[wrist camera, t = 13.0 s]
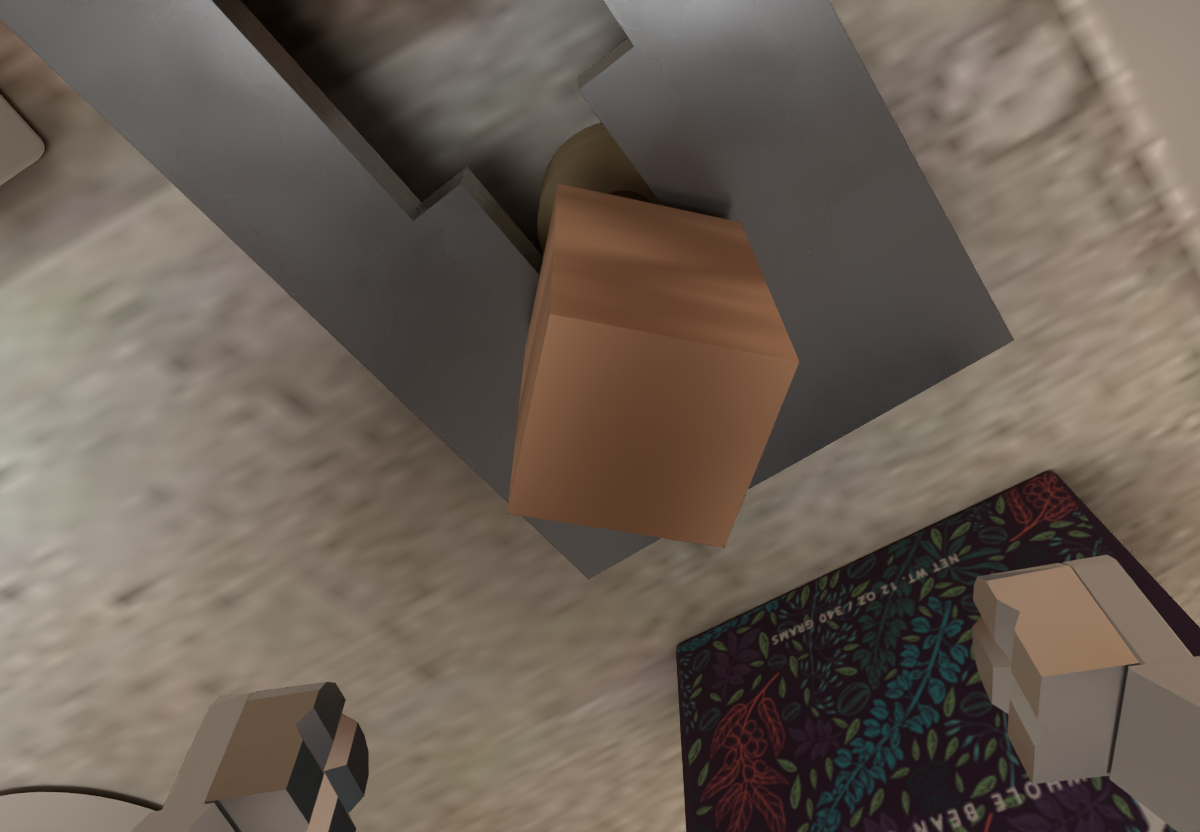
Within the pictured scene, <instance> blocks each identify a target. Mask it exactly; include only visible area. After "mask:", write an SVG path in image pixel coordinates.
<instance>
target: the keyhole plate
mask: <svg viewBox="0 0 1200 832" xmlns="http://www.w3.org/2000/svg"><path fill="white" fill-rule="evenodd" d="M603 1H604V3H605V4H606V5H607V7H608V8H609V10H610V11H611V13H612V14H613V16H614V17H615V19H616V20H617V22H618V23H619V25H620V26H621V28H622V29H623V30H624V32H625V33H626V35H627V36H628V38H627V39H626V40H625V41H623V42H622V43H621V44H619V45H618V46H617V47H616V48H614V49H613V50H612V51H611V52H609V53H608V54H607V55H606V56H604V57H603V58H602V59H601V60H599V61H598V62H597V63H596V64H594V65H593V66H592V67H591V68H589V69H588V70H587V71H586V72H584V73H583V74H582V75H581V76H579V79H578V91H579V92H580V93H581V95H582V96H583V97H584V99H585V100H586V102H587V103H588V104H589V106H590V107H591V108H592V110H593V111H594V112H595V114H596V115H597V117H598V118H599V119H600V121H601V122H602V123H603V125H604V126H605V127H606V129H607V130H608V132H609V133H610V134H611V136H612V137H613V138H614V140H615V141H616V142H617V144H618V145H619V147H620V148H621V149H622V151H623V152H624V153H625V155H626V156H627V157H628V159H629V160H630V161H631V163H632V164H633V166H634V167H635V168H636V170H637V171H638V172H639V174H640V175H641V176H642V178H643V179H644V181H645V182H646V183H647V185H648V186H649V187H650V189H651V190H652V191H653V193H654V194H655V196H656V197H657V198H658V200H659V201H660V202H661V204H662V205H663V206H666V207H671V208H676V209H680V210H685V211H690V212H694V213H699V214H704V215H708V216H713V217H718V218H723V219H727V220H732V221H737V222H741V224H742V227H743V229H744V231H745V234H746V236H747V239H748V241H749V243H750V246H751V248H752V250H753V253H754V255H755V258H756V260H757V262H758V265H759V267H760V269H761V272H762V274H763V277H764V279H765V281H766V284H767V286H768V288H769V291H770V293H771V296H772V298H773V300H774V303H775V305H776V307H777V310H778V312H779V315H780V317H781V319H782V322H783V324H784V326H785V329H786V331H787V334H788V336H789V338H790V341H791V343H792V345H793V348H794V350H795V352H796V355H797V357H798V360H799V364H798V366H797V369H796V371H795V374H794V376H793V379H792V381H791V384H790V386H789V389H788V391H787V394H786V396H785V399H784V401H783V404H782V406H781V409H780V411H779V413H778V416H777V418H776V421H775V423H774V426H773V428H772V431H771V433H770V436H769V438H768V441H767V443H766V446H765V448H764V451H763V453H762V456H761V458H760V460H759V463H758V465H757V468H756V470H755V473H754V475H753V478H752V480H751V483H750V485H749V488H748V489H750V488H752V487H753V486H755V485H757V484H759V483H760V482H762V481H764V480H766V479H768V478H769V477H771V476H773V475H775V474H777V473H778V472H780V471H782V470H784V469H785V468H787V467H789V466H791V465H793V464H794V463H796V462H798V461H800V460H801V459H803V458H805V457H807V456H809V455H810V454H812V453H814V452H816V451H817V450H819V449H821V448H823V447H825V446H826V445H828V444H830V443H832V442H833V441H835V440H837V439H839V438H841V437H842V436H844V435H846V434H848V433H850V432H851V431H853V430H855V429H857V428H858V427H860V426H862V425H864V424H866V423H867V422H869V421H871V420H873V419H874V418H876V417H878V416H880V415H882V414H883V413H885V412H887V411H889V410H890V409H892V408H894V407H896V406H898V405H899V404H901V403H903V402H905V401H906V400H908V399H910V398H912V397H914V396H915V395H917V394H919V393H921V392H922V391H924V390H926V389H928V388H930V387H931V386H933V385H935V384H937V383H939V382H940V381H942V380H944V379H946V378H947V377H949V376H951V375H953V374H955V373H956V372H958V371H960V370H962V369H963V368H965V367H967V366H969V365H971V364H972V363H974V362H976V361H978V360H979V359H981V358H983V357H985V356H987V355H988V354H990V353H992V352H994V351H995V350H997V349H999V348H1001V347H1003V346H1004V345H1006V344H1008V343H1010V342H1011V341H1013V340H1014V339H1013V337H1012V335H1011V334H1010V332H1009V330H1008V328H1007V326H1006V324H1005V323H1004V321H1003V319H1002V317H1001V315H1000V313H999V312H998V310H997V308H996V306H995V304H994V302H993V301H992V299H991V297H990V295H989V293H988V291H987V290H986V288H985V286H984V284H983V282H982V280H981V279H980V277H979V275H978V273H977V271H976V269H975V268H974V266H973V264H972V262H971V260H970V258H969V257H968V255H967V253H966V251H965V249H964V247H963V246H962V244H961V242H960V240H959V238H958V236H957V235H956V233H955V231H954V229H953V227H952V225H951V224H950V222H949V220H948V218H947V216H946V214H945V213H944V211H943V209H942V207H941V205H940V203H939V202H938V200H937V198H936V196H935V194H934V192H933V191H932V189H931V187H930V185H929V183H928V181H927V180H926V178H925V176H924V174H923V172H922V170H921V169H920V167H919V165H918V163H917V161H916V159H915V158H914V156H913V154H912V152H911V150H910V148H909V147H908V145H907V143H906V141H905V139H904V137H903V136H902V134H901V132H900V130H899V128H898V126H897V125H896V123H895V121H894V119H893V117H892V115H891V114H890V112H889V110H888V108H887V106H886V104H885V103H884V101H883V99H882V97H881V95H880V93H879V92H878V90H877V88H876V86H875V84H874V82H873V81H872V79H871V77H870V75H869V73H868V72H867V70H866V68H865V66H864V64H863V62H862V61H861V59H860V57H859V55H858V53H857V51H856V50H855V48H854V46H853V44H852V42H851V40H850V39H849V37H848V35H847V33H846V31H845V29H844V28H843V26H842V24H841V22H840V20H839V18H838V17H837V15H836V13H835V11H834V9H833V7H832V6H831V4H830V2H829V0H603ZM0 20H2V21H3V22H4V23H5V24H6V25H7V26H8V27H9V28H10V29H11V30H12V31H13V32H14V33H15V34H16V35H17V36H18V37H19V38H20V39H21V40H23V41H24V42H25V43H26V44H27V45H28V46H29V47H30V48H31V49H32V50H33V51H34V52H35V53H36V54H37V55H38V56H39V57H40V58H41V59H42V60H44V61H45V62H46V63H47V64H48V65H49V66H50V67H51V68H52V69H53V70H54V71H55V72H56V73H57V74H58V75H59V76H60V77H61V78H62V79H63V80H65V81H66V82H67V83H68V84H69V85H70V86H71V87H72V88H73V89H74V90H75V91H76V92H77V93H78V94H79V95H80V96H81V97H82V98H83V99H85V100H86V101H87V102H88V103H89V104H90V105H91V106H92V107H93V108H94V109H95V110H96V111H97V112H98V113H99V114H100V115H101V116H102V117H103V118H104V119H106V120H107V121H108V122H109V123H110V124H111V125H112V126H113V127H114V128H115V129H116V130H117V131H118V132H119V133H120V134H121V135H122V136H123V137H124V138H125V139H127V140H128V141H129V142H130V143H131V144H132V145H133V146H134V147H135V148H136V149H137V150H138V151H139V152H140V153H141V154H142V155H143V156H144V157H145V158H146V159H148V160H149V161H150V162H151V163H152V164H153V165H154V166H155V167H156V168H157V169H158V170H159V171H160V172H161V173H162V174H163V175H164V176H165V177H166V178H167V179H169V180H170V181H171V182H172V183H173V184H174V185H175V186H176V187H177V188H178V189H179V190H180V191H181V192H182V193H183V194H184V195H185V196H186V197H187V198H189V199H190V200H191V201H192V202H193V203H194V204H195V205H196V206H197V207H198V208H199V209H200V210H201V211H202V212H203V213H204V214H205V215H206V216H207V217H208V218H210V219H211V220H212V221H213V222H214V223H215V224H216V225H217V226H218V227H219V228H220V229H221V230H222V231H223V232H224V233H225V234H226V235H227V236H228V237H229V238H231V239H232V240H233V241H234V242H235V243H236V244H237V245H238V246H239V247H240V248H241V249H242V250H243V251H244V252H245V253H246V254H247V255H248V256H249V257H250V258H252V259H253V260H254V261H255V262H256V263H257V264H258V265H259V266H260V267H261V268H262V269H263V270H264V271H265V272H266V273H267V274H268V275H269V276H270V277H272V278H273V279H274V280H275V281H276V282H277V283H278V284H279V285H280V286H281V287H282V288H283V289H284V290H285V291H286V292H287V293H288V294H289V295H290V296H291V297H293V298H294V299H295V300H296V301H297V302H298V303H299V304H300V305H301V306H302V307H303V308H304V309H305V310H306V311H307V312H308V313H309V314H310V315H311V316H312V317H314V318H315V319H316V320H317V321H318V322H319V323H320V324H321V325H322V326H323V327H324V328H325V329H326V330H327V331H328V332H329V333H330V334H331V335H332V336H333V337H335V338H336V339H337V340H338V341H339V342H340V343H341V344H342V345H343V346H344V347H345V348H346V349H347V350H348V351H349V352H350V353H351V354H352V355H353V356H355V357H356V358H357V359H358V360H359V361H360V362H361V363H362V364H363V365H364V366H365V367H366V368H367V369H368V370H369V371H370V372H371V373H372V374H373V375H374V376H376V377H377V378H378V379H379V380H380V381H381V382H382V383H383V384H384V385H385V386H386V387H387V388H388V389H389V390H390V391H391V392H392V393H393V394H394V395H395V396H397V397H398V398H399V399H400V400H401V401H402V402H403V403H404V404H405V405H406V406H407V407H408V408H409V409H410V410H411V411H412V412H413V413H414V414H415V415H416V416H418V417H419V418H420V419H421V420H422V421H423V422H424V423H425V424H426V425H427V426H428V427H429V428H430V429H431V430H432V431H433V432H434V433H435V434H436V435H438V436H439V437H440V438H441V439H442V440H443V441H444V442H445V443H446V444H447V445H448V446H449V447H450V448H451V449H452V450H453V451H454V452H455V453H456V454H457V455H459V456H460V457H461V458H462V459H463V460H464V461H465V462H466V463H467V464H468V465H469V466H470V467H471V468H472V469H473V470H474V471H475V472H476V473H477V474H478V475H480V476H481V477H482V478H483V479H484V480H485V481H486V482H487V483H488V484H489V485H490V486H491V487H492V488H493V489H494V490H495V491H496V492H497V493H498V494H499V495H501V496H502V497H503V498H504V499H505V500H506V501H507V502H508V501H509V492H510V483H511V474H512V465H513V455H514V446H515V437H516V428H517V419H518V410H519V400H520V391H521V382H522V373H523V364H524V355H525V346H526V341H527V337H528V332H529V327H530V322H531V317H532V312H533V307H534V302H535V297H536V292H537V287H538V282H539V277H540V272H541V267H542V262H543V256H542V255H541V254H540V252H539V251H538V250H537V249H536V248H535V246H534V245H533V244H532V243H531V242H530V240H529V239H528V238H527V237H526V236H525V235H524V233H523V232H522V231H521V230H520V229H519V227H518V226H517V225H516V224H515V223H514V222H513V220H512V219H511V218H510V217H509V216H508V214H507V213H506V212H505V211H504V210H503V209H502V207H501V206H500V205H499V204H498V203H497V201H496V200H495V199H494V198H493V197H492V195H491V194H490V193H489V192H488V191H487V190H486V188H485V187H484V186H483V185H482V184H481V182H480V181H479V180H478V179H477V178H476V177H475V175H474V174H473V173H472V172H471V171H470V169H469V168H468V167H465V168H464V169H463V170H462V171H460V172H459V173H458V174H457V175H455V176H454V177H453V178H452V179H450V180H449V181H448V182H447V183H445V184H444V185H443V186H441V187H440V188H439V189H438V190H436V191H435V192H434V193H433V194H431V195H430V196H429V197H428V198H426V199H425V200H424V201H423V202H421V201H420V200H419V199H418V198H417V197H416V196H415V195H414V193H413V192H412V191H411V190H410V189H409V188H408V187H407V186H406V184H405V183H404V182H403V181H402V180H401V179H400V178H399V177H398V176H397V174H396V173H395V172H394V171H393V170H392V169H391V168H390V167H389V166H388V164H387V163H386V162H385V161H384V160H383V159H382V158H381V157H380V155H379V154H378V153H377V152H376V151H375V150H374V149H373V148H372V147H371V145H370V144H369V143H368V142H367V141H366V140H365V139H364V138H363V136H362V135H361V134H360V133H359V132H358V131H357V130H356V129H355V128H354V126H353V125H352V124H351V123H350V122H349V121H348V120H347V119H346V118H345V116H344V115H343V114H342V113H341V112H340V111H339V110H338V109H337V107H336V106H335V105H334V104H333V103H332V102H331V101H330V100H329V99H328V97H327V96H326V95H325V94H324V93H323V92H322V91H321V90H320V88H319V87H318V86H317V85H316V84H315V83H314V82H313V81H312V80H311V78H310V77H309V76H308V75H307V74H306V73H305V72H304V71H303V70H302V68H301V67H300V66H299V65H298V64H297V63H296V62H295V61H294V59H293V58H292V57H291V56H290V55H289V54H288V53H287V52H286V51H285V49H284V48H283V47H282V46H281V45H280V44H279V43H278V42H277V40H276V39H275V38H274V37H273V36H272V35H271V34H270V33H269V32H268V30H267V29H266V28H265V27H264V26H263V25H262V24H261V23H260V22H259V20H258V19H257V18H256V17H255V16H254V15H253V14H252V13H251V11H250V10H249V9H248V8H247V7H246V6H245V5H244V4H243V3H242V1H241V0H0ZM523 517H524V518H525V519H526V520H527V521H528V522H529V523H530V524H531V525H532V526H533V527H534V528H535V529H536V530H537V531H538V532H539V533H540V534H542V535H543V536H544V537H545V538H546V539H547V540H548V541H549V542H550V543H551V544H552V545H553V546H554V547H555V548H556V549H557V550H558V551H559V552H560V553H561V554H563V555H564V556H565V557H566V558H567V559H568V560H569V561H570V562H571V563H572V564H573V565H574V566H575V567H576V568H577V569H578V570H579V571H580V572H581V573H582V574H584V575H585V576H586V577H587V578H588V579H590V578H591V577H593V576H595V575H597V574H598V573H600V572H602V571H604V570H606V569H607V568H609V567H611V566H613V565H615V564H616V563H618V562H620V561H622V560H623V559H625V558H627V557H629V556H631V555H632V554H634V553H636V552H638V551H639V550H641V549H643V548H645V547H647V546H648V545H650V544H652V543H654V542H655V541H657V540H659V539H661V538H659V537H653V536H647V535H640V534H634V533H628V532H621V531H615V530H609V529H603V528H596V527H590V526H584V525H577V524H571V523H565V522H558V521H552V520H546V519H540V518H533V517H527V516H523Z"/></svg>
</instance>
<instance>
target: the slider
mask: <svg viewBox="0 0 1200 832" xmlns="http://www.w3.org/2000/svg"><path fill="white" fill-rule="evenodd" d="M537 232H538V239H539V244H540V247H541V251H542V253H543V256H544V257H543V262H542V267H541V272H540V277H539V282H538V287H537V292H536V297H535V302H534V307H533V312H532V317H531V322H530V327H529V332H528V337H527V341H526V346H525V355H524V364H523V373H522V382H521V391H520V400H519V410H518V419H517V428H516V437H515V446H514V455H513V465H512V474H511V483H510V492H509V501H508V510H507V513H508V514H514V515H521V516H527V517H533V518H540V519H546V520H552V521H558V522H565V523H571V524H577V525H584V526H590V527H596V528H603V529H609V530H615V531H621V532H628V533H634V534H640V535H647V536H653V537H659V538H666V539H672V540H678V541H684V542H691V543H697V544H703V545H710V546H716V547H722V548H724V547H725V545H726V542H727V540H728V537H729V535H730V532H731V530H732V527H733V525H734V522H735V520H736V517H737V515H738V512H739V510H740V508H741V505H742V503H743V500H744V498H745V495H746V493H747V490H748V488H749V485H750V483H751V480H752V478H753V475H754V473H755V470H756V468H757V465H758V463H759V460H760V458H761V456H762V453H763V451H764V448H765V446H766V443H767V441H768V438H769V436H770V433H771V431H772V428H773V426H774V423H775V421H776V418H777V416H778V413H779V411H780V409H781V406H782V404H783V401H784V399H785V396H786V394H787V391H788V389H789V386H790V384H791V381H792V379H793V376H794V374H795V371H796V369H797V366H798V364H799V360H798V357H797V355H796V352H795V350H794V348H793V345H792V343H791V341H790V338H789V336H788V334H787V331H786V329H785V326H784V324H783V322H782V319H781V317H780V315H779V312H778V310H777V307H776V305H775V303H774V300H773V298H772V296H771V293H770V291H769V288H768V286H767V284H766V281H765V279H764V277H763V274H762V272H761V269H760V267H759V265H758V262H757V260H756V258H755V255H754V253H753V250H752V248H751V246H750V243H749V241H748V239H747V236H746V234H745V231H744V229H743V227H742V224H741V222H737V221H732V220H727V219H723V218H718V217H713V216H708V215H704V214H699V213H694V212H690V211H685V210H680V209H676V208H671V207H666V206H663V205H662V204H661V202H660V201H659V200H658V198H657V197H656V196H655V194H654V193H653V191H652V190H651V189H650V187H649V186H648V185H647V183H646V182H645V181H644V179H643V178H642V176H641V175H640V174H639V172H638V171H637V170H636V168H635V167H634V166H633V164H632V163H631V161H630V160H629V159H628V157H627V156H626V155H625V153H624V152H623V151H622V149H621V148H620V147H619V145H618V144H617V142H616V141H615V140H614V138H613V137H612V136H611V134H610V133H609V132H608V130H607V129H606V127H605V126H604V125H603V123H600V124H596V125H593V126H591V127H588V128H586V129H584V130H582V131H580V132H578V133H577V134H575V135H574V136H573V137H571V138H570V139H569V140H567V141H566V142H565V143H564V144H563V145H562V146H561V147H560V148H559V150H558V151H557V152H556V153H555V155H554V156H553V158H552V159H551V161H550V163H549V165H548V167H547V169H546V171H545V174H544V177H543V181H542V185H541V193H540V202H539V210H538V219H537Z"/></svg>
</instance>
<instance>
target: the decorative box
mask: <svg viewBox="0 0 1200 832" xmlns="http://www.w3.org/2000/svg"><path fill="white" fill-rule="evenodd" d="M1102 555H1108V556H1110V557H1112V558H1114V559H1116V560H1117V562H1118V563H1119V564H1120V565H1121V567H1122V568H1123V569H1124V570H1125V572H1126V573H1127V574H1128V575H1129V577H1130V578H1131V579H1132V580H1133V582H1134V583H1135V584H1136V585H1137V587H1138V588H1139V589H1140V590H1141V592H1142V593H1143V594H1144V595H1145V597H1146V598H1147V599H1148V600H1149V602H1150V603H1151V604H1152V605H1153V607H1154V608H1155V609H1156V610H1157V612H1158V613H1159V614H1160V615H1161V617H1162V618H1163V619H1164V620H1165V622H1166V623H1167V624H1168V625H1169V627H1170V628H1171V629H1172V630H1173V632H1174V633H1175V634H1176V635H1177V637H1178V638H1179V639H1180V640H1181V642H1182V643H1183V644H1184V645H1185V647H1186V648H1187V649H1188V650H1189V652H1190V653H1191V654H1192V655H1193V657H1196V656H1200V628H1199V626H1198V625H1197V624H1196V623H1195V622H1194V621H1193V620H1192V619H1191V618H1190V617H1189V616H1188V615H1187V614H1186V613H1185V611H1184V610H1183V609H1182V608H1181V607H1180V606H1179V605H1178V604H1177V603H1176V602H1175V601H1174V600H1173V599H1172V598H1171V596H1170V595H1169V594H1168V593H1167V592H1166V591H1165V590H1164V589H1163V588H1162V587H1161V586H1160V585H1159V584H1158V583H1157V581H1156V580H1155V579H1154V578H1153V577H1152V576H1151V575H1150V574H1149V573H1148V572H1147V571H1146V570H1145V569H1144V568H1143V566H1142V565H1141V564H1140V563H1139V562H1138V561H1137V560H1136V559H1135V558H1134V557H1133V556H1132V555H1131V554H1130V553H1129V551H1128V550H1127V549H1126V548H1125V547H1124V546H1123V545H1122V544H1121V543H1120V542H1119V541H1118V540H1117V539H1116V538H1115V536H1114V535H1113V534H1112V533H1111V532H1110V531H1109V530H1108V529H1107V528H1106V527H1105V526H1104V525H1103V524H1102V523H1101V521H1100V520H1099V519H1098V518H1097V517H1096V516H1095V515H1094V514H1093V513H1092V512H1091V511H1090V510H1089V509H1088V508H1087V506H1086V505H1085V504H1084V503H1083V502H1082V501H1081V500H1080V499H1079V498H1078V497H1077V496H1076V495H1075V494H1074V493H1073V491H1072V490H1071V489H1070V488H1069V487H1068V486H1067V485H1066V484H1065V483H1064V482H1063V481H1062V480H1061V479H1060V478H1059V476H1058V475H1056V474H1054V473H1053V472H1047V473H1044V474H1041V475H1039V476H1037V477H1035V478H1033V479H1031V480H1029V481H1027V482H1024V483H1022V484H1020V485H1018V486H1016V487H1014V488H1012V489H1010V490H1007V491H1005V492H1003V493H1001V494H999V495H997V496H995V497H992V498H990V499H988V500H986V501H984V502H982V503H980V504H978V505H975V506H973V507H971V508H969V509H967V510H965V511H963V512H961V513H958V514H956V515H954V516H952V517H950V518H948V519H946V520H943V521H941V522H939V523H937V524H935V525H933V526H931V527H929V528H926V529H924V530H922V531H920V532H918V533H916V534H914V535H912V536H909V537H907V538H905V539H903V540H901V541H899V542H897V543H895V544H892V545H890V546H888V547H886V548H884V549H882V550H880V551H877V552H875V553H873V554H871V555H869V556H867V557H865V558H863V559H860V560H858V561H856V562H854V563H852V564H850V565H848V566H846V567H843V568H841V569H839V570H837V571H835V572H833V573H831V574H828V575H826V576H824V577H822V578H820V579H818V580H816V581H814V582H811V583H809V584H807V585H805V586H803V587H801V588H799V589H797V590H794V591H792V592H790V593H788V594H786V595H784V596H782V597H779V598H777V599H775V600H773V601H771V602H769V603H767V604H765V605H762V606H760V607H758V608H756V609H754V610H752V611H750V612H748V613H745V614H743V615H741V616H739V617H737V618H735V619H733V620H730V621H728V622H726V623H724V624H722V625H720V626H718V627H716V628H713V629H711V630H709V631H707V632H705V633H703V634H701V635H699V636H696V637H694V638H692V639H690V640H688V641H686V642H684V643H681V644H680V645H679V646H678V647H677V651H676V659H677V677H678V694H679V711H680V729H681V746H682V763H683V780H684V798H685V815H686V832H1177V831H1176V830H1175V829H1173V828H1172V827H1171V826H1169V825H1168V824H1167V823H1165V822H1164V821H1163V820H1162V819H1160V818H1159V817H1158V816H1156V815H1155V814H1154V813H1153V812H1151V811H1150V810H1149V809H1147V808H1146V807H1145V806H1143V805H1142V804H1141V803H1140V802H1138V801H1137V800H1136V799H1134V798H1133V797H1132V796H1130V795H1129V794H1128V793H1127V792H1125V791H1124V790H1123V789H1121V788H1120V787H1119V786H1118V785H1116V784H1115V783H1114V782H1112V781H1111V780H1110V776H1102V777H1092V778H1083V779H1074V780H1065V781H1056V782H1047V783H1038V784H1032V782H1031V780H1030V778H1029V776H1028V775H1027V773H1026V771H1025V769H1024V767H1023V765H1022V763H1021V761H1020V759H1019V757H1018V755H1017V753H1016V751H1015V749H1014V747H1013V745H1012V743H1011V741H1010V739H1009V737H1008V714H1007V713H1006V712H1004V711H1003V710H1001V709H999V708H998V707H996V706H995V705H993V704H992V703H991V701H990V699H989V697H988V694H987V692H986V690H985V688H984V686H983V683H982V681H981V678H980V675H979V672H978V670H977V665H976V660H975V655H974V650H973V628H972V627H973V626H974V624H975V623H976V622H977V621H978V620H979V619H980V618H981V614H980V612H979V610H978V609H977V607H976V605H975V603H974V601H973V594H974V584H975V581H976V579H977V577H979V576H984V575H990V574H996V573H1002V572H1008V571H1014V570H1020V569H1025V568H1031V567H1037V566H1043V565H1049V564H1055V563H1061V564H1062V563H1063V562H1067V561H1073V560H1079V559H1085V558H1090V557H1096V556H1102Z"/></svg>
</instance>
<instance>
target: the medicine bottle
mask: <svg viewBox="0 0 1200 832" xmlns="http://www.w3.org/2000/svg"><path fill="white" fill-rule="evenodd" d="M44 151H45V149H44V143H43V142H42V140H41V138H40V137H39V136H38V135H37V134H36V133H35V132H34V131H33V130H32V128H31V127H30V126H29V125H28V124H27V123H26V122H25V121H24V120H23V119H22V117H21V116H20V115H19V114H18V113H17V112H16V111H15V110H14V109H13V108H12V106H11V105H10V104H9V103H8V102H7V101H6V100H5V99H4V98H3V97H2V96H1V94H0V186H1V185H2V184H4V183H5V182H7V181H8V180H9V179H11V178H12V177H14V176H15V175H17V174H18V173H20V172H21V171H23V170H24V169H25V168H27V167H28V166H30V165H31V164H33V163H34V162H36V161H37V160H38V159H40V157H41V156H42V154H43V153H44Z"/></svg>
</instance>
